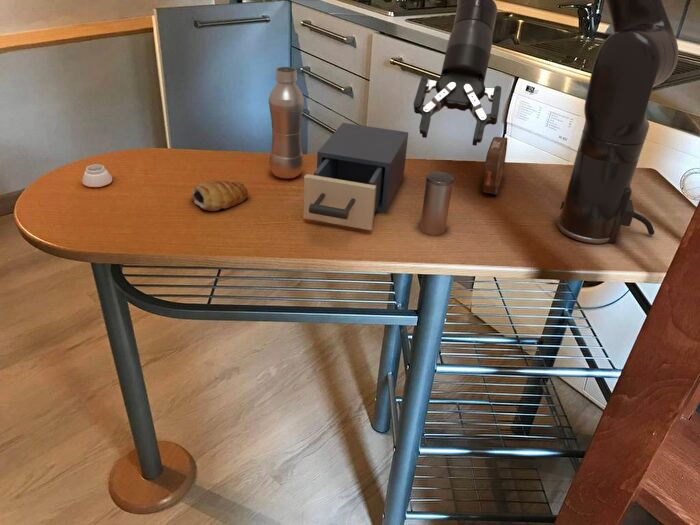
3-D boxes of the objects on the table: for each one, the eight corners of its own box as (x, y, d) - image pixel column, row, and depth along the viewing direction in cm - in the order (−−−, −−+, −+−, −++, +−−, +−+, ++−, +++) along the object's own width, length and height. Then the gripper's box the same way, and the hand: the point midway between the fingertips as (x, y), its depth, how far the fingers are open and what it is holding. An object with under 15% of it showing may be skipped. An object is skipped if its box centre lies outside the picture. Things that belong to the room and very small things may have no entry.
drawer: (362, 248, 95) (365, 204, 91) (291, 234, 97) (291, 191, 93) (390, 193, 112) (394, 155, 108) (329, 183, 114) (330, 145, 110)
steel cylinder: (447, 225, 105) (455, 173, 100) (443, 237, 101) (451, 184, 96) (422, 221, 106) (428, 169, 101) (417, 232, 102) (424, 179, 97)
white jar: (78, 181, 111) (88, 191, 108) (75, 165, 110) (85, 175, 107) (106, 175, 114) (116, 185, 111) (104, 160, 113) (114, 169, 109)
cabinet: (385, 213, 107) (390, 163, 102) (315, 201, 110) (317, 151, 105) (403, 178, 120) (408, 132, 115) (340, 167, 123) (342, 122, 118)
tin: (494, 202, 113) (502, 159, 109) (477, 198, 114) (484, 156, 110) (504, 171, 126) (512, 132, 121) (488, 169, 126) (496, 129, 122)
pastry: (236, 188, 112) (235, 168, 110) (255, 202, 108) (255, 182, 106) (188, 200, 107) (186, 180, 105) (207, 216, 103) (205, 195, 101)
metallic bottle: (306, 169, 121) (307, 66, 110) (300, 184, 115) (301, 76, 105) (273, 166, 121) (272, 63, 111) (266, 181, 116) (263, 73, 105)
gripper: (426, 36, 105) (406, 123, 102) (511, 47, 102) (493, 136, 99) (427, 61, 112) (408, 142, 109) (507, 71, 109) (490, 155, 106)
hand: (449, 139), depth 104 cm, fingers open, 8 cm apart
